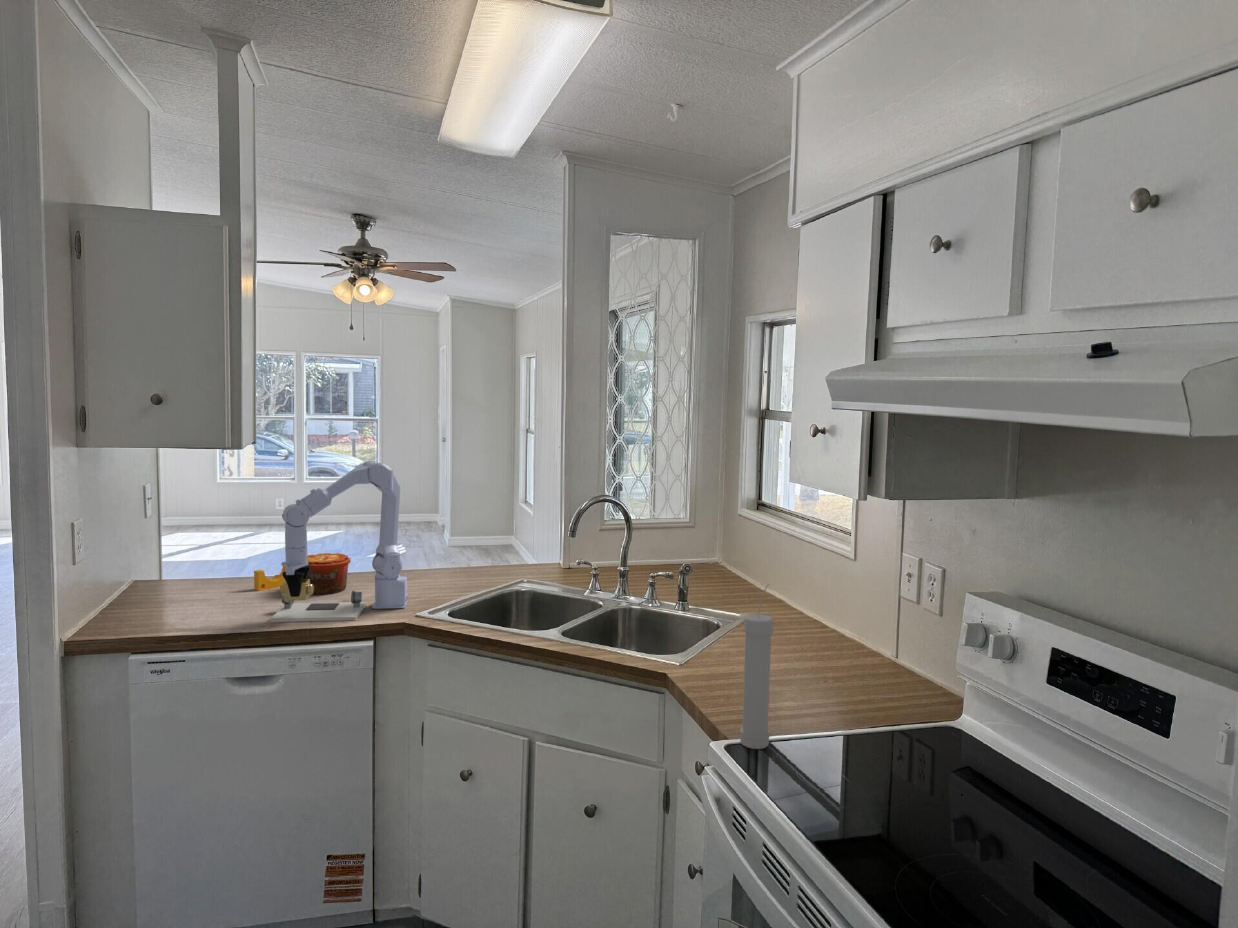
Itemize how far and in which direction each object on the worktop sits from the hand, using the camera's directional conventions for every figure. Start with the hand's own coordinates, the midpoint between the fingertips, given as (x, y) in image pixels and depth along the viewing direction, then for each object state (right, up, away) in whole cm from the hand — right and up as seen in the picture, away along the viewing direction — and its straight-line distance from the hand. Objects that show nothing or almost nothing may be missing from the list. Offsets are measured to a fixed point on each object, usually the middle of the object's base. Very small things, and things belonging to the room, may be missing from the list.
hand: (297, 594), depth 224 cm
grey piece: (+117, -16, -75) cm, 140 cm away
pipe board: (+4, -7, +6) cm, 10 cm away
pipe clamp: (-23, -4, +37) cm, 43 cm away
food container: (-5, -4, +33) cm, 34 cm away
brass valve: (0, -1, 0) cm, 1 cm away
